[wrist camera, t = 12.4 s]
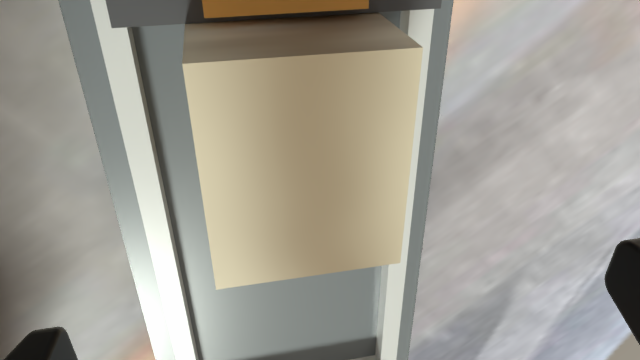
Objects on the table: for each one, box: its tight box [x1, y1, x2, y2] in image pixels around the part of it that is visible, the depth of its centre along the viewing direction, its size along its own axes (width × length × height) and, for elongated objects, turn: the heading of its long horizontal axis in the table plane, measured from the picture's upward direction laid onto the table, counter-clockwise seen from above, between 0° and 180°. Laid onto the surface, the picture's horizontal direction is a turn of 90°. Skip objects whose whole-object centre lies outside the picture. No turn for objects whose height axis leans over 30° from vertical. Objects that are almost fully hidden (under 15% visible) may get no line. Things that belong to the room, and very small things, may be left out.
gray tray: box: [59, 0, 453, 360], centre depth 19 cm, size 12×20×5 cm, turn 0°
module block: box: [182, 12, 423, 290], centre depth 14 cm, size 5×6×6 cm
